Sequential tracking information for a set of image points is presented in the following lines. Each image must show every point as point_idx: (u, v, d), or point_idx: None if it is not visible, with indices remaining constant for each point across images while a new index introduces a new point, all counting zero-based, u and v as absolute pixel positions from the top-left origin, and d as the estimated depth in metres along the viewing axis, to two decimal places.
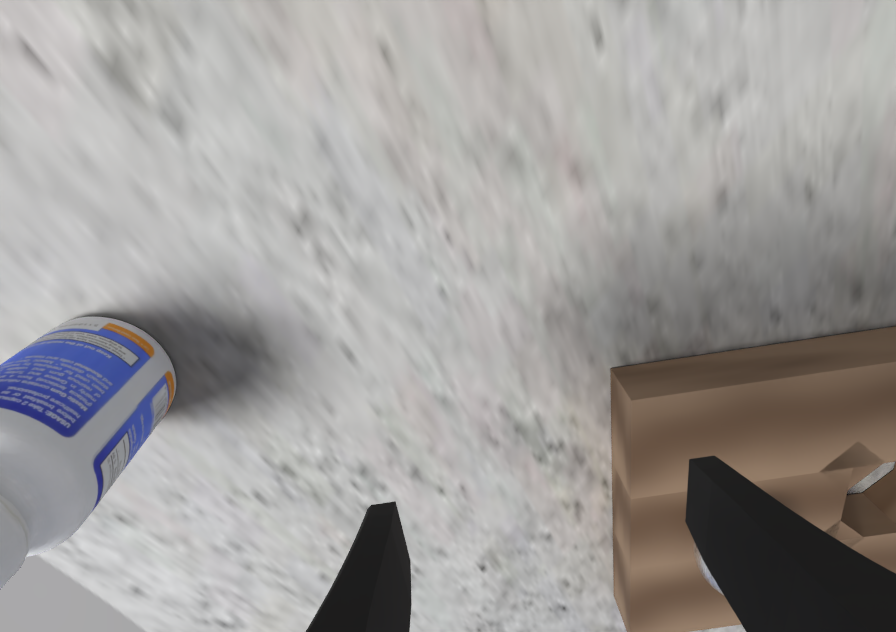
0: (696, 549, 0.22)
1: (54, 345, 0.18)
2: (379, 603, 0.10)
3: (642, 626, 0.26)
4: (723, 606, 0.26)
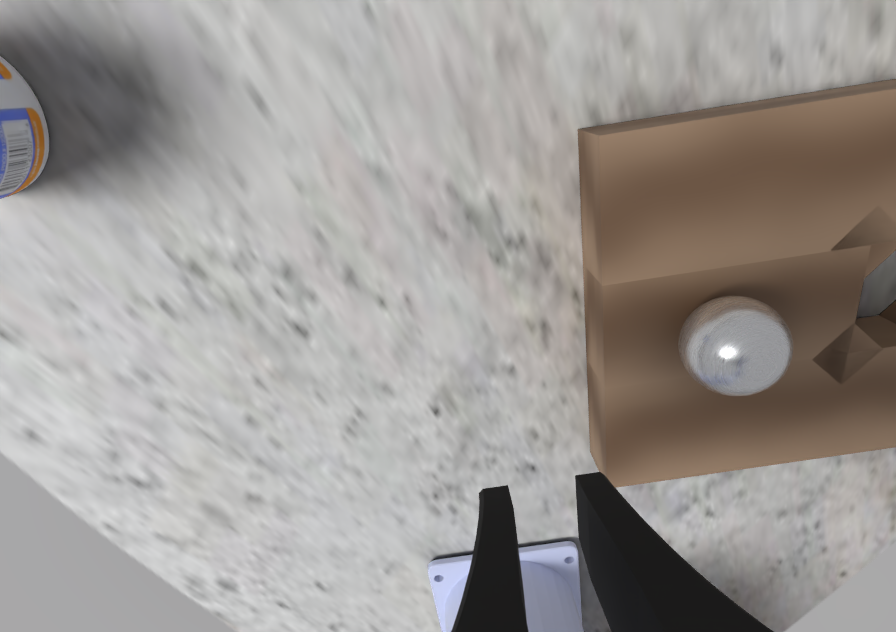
0: (681, 340, 0.18)
1: None
2: (520, 583, 0.10)
3: (621, 470, 0.22)
4: (716, 444, 0.22)
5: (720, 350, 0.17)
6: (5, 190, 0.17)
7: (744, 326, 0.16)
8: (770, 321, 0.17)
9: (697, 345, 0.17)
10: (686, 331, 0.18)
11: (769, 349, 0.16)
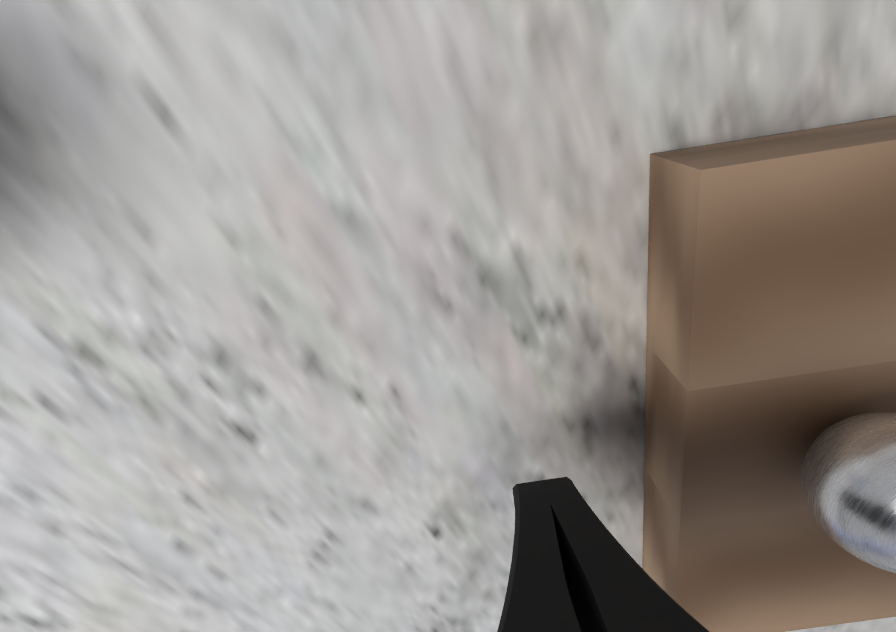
0: (812, 479, 0.12)
1: None
2: None
3: None
4: (829, 592, 0.16)
5: (895, 516, 0.10)
6: None
7: None
8: None
9: (849, 499, 0.11)
10: (823, 469, 0.12)
11: None
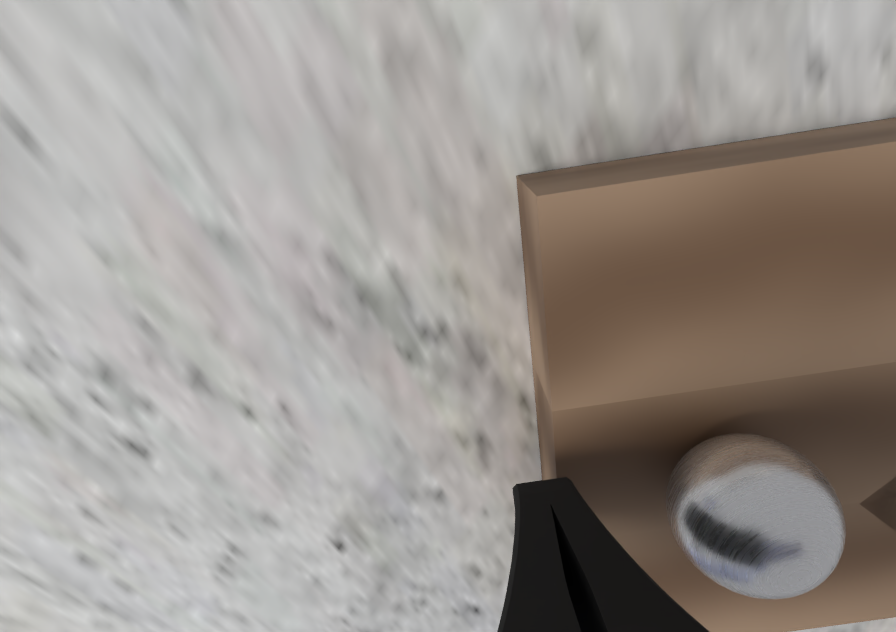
0: (669, 500, 0.12)
1: None
2: None
3: None
4: (720, 607, 0.16)
5: (731, 540, 0.10)
6: None
7: (769, 505, 0.10)
8: (811, 496, 0.10)
9: (694, 521, 0.11)
10: (677, 490, 0.12)
11: (810, 546, 0.10)
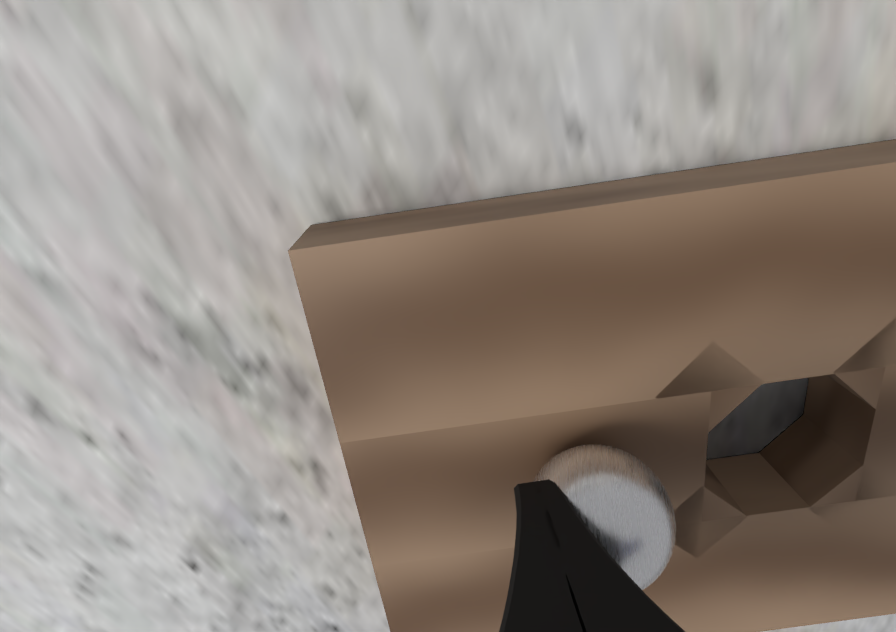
0: None
1: None
2: None
3: None
4: None
5: (652, 530, 0.11)
6: None
7: (639, 479, 0.12)
8: (631, 457, 0.12)
9: (623, 548, 0.11)
10: None
11: (663, 487, 0.12)
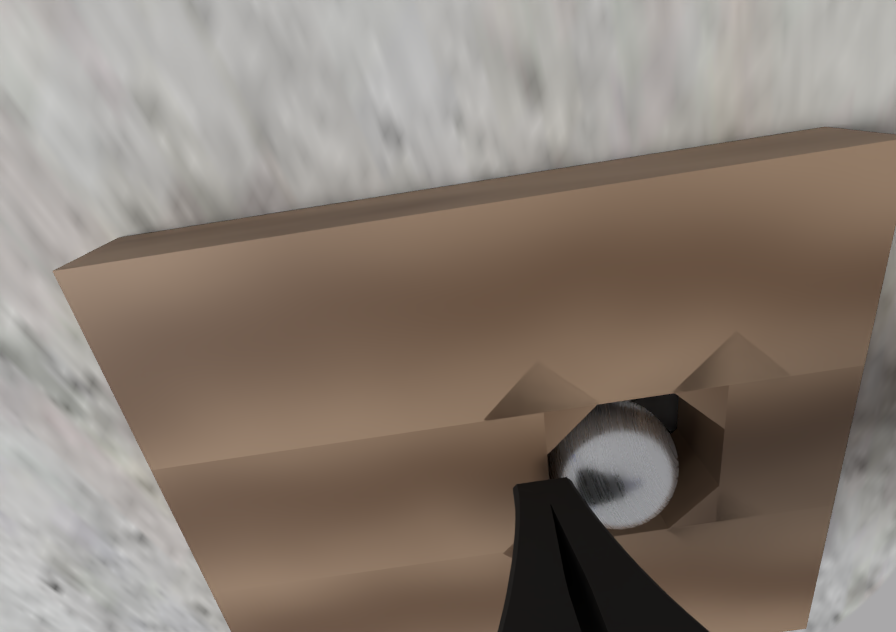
0: None
1: None
2: None
3: None
4: None
5: None
6: None
7: None
8: None
9: None
10: None
11: None
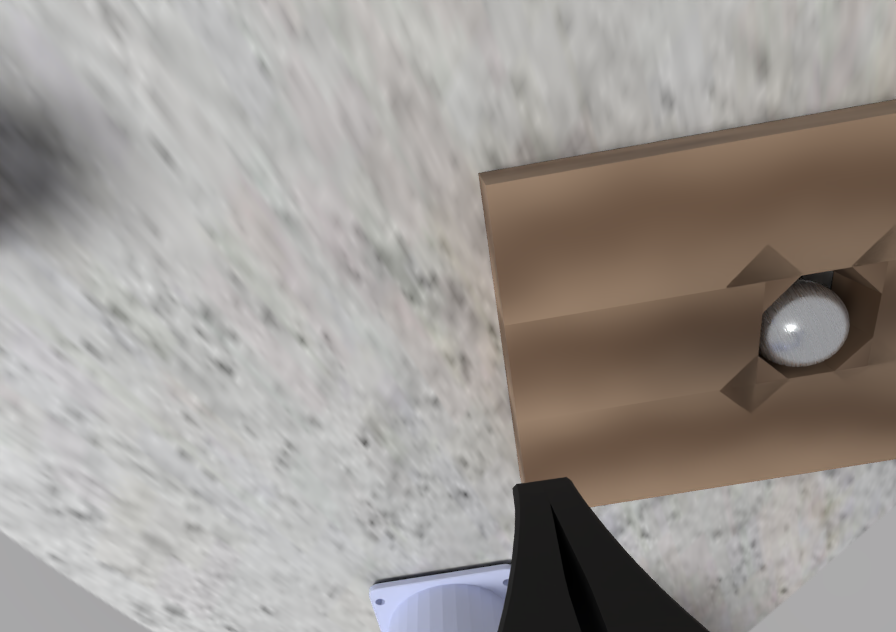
0: None
1: None
2: None
3: None
4: (633, 472, 0.22)
5: None
6: None
7: None
8: None
9: None
10: None
11: None
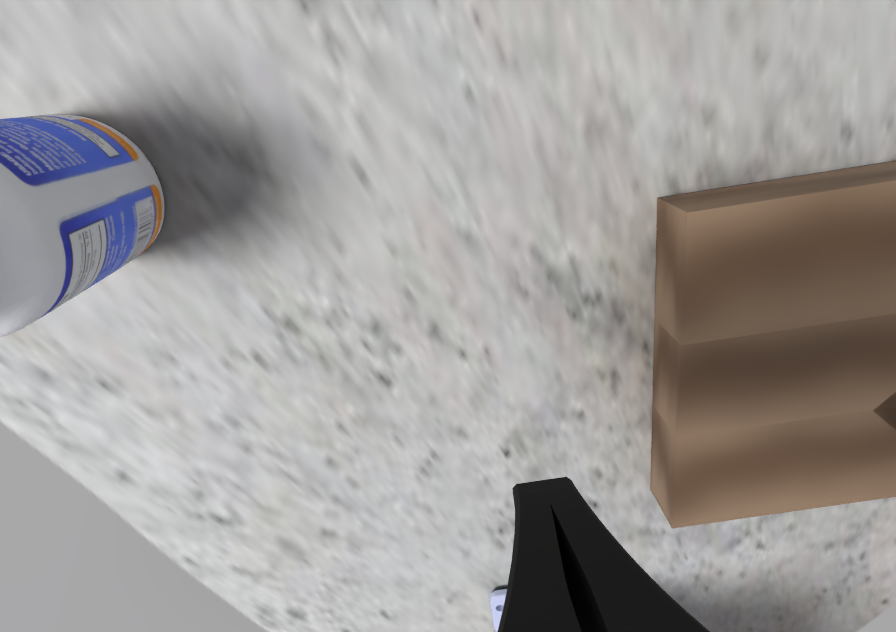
0: None
1: (19, 118, 0.15)
2: None
3: (686, 511, 0.24)
4: (777, 487, 0.23)
5: None
6: (129, 261, 0.18)
7: None
8: None
9: None
10: None
11: None
